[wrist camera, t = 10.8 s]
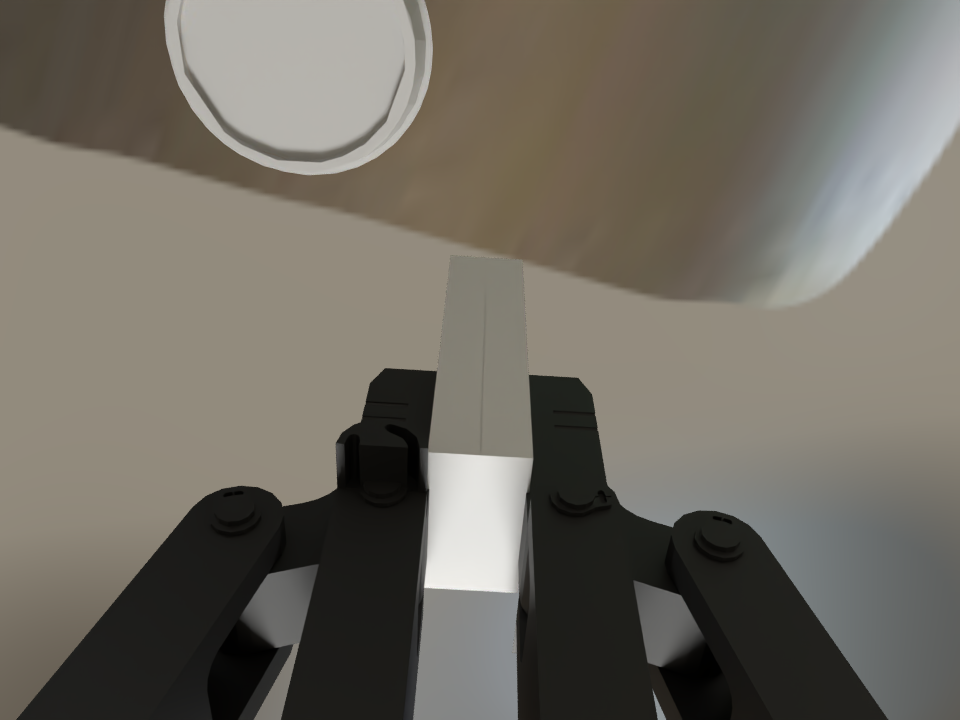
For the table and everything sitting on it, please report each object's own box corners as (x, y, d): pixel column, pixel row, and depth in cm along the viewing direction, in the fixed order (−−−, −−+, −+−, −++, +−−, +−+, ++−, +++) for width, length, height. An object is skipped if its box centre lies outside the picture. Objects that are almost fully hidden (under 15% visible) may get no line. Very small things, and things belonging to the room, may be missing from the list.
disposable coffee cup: (233, -122, 37) (128, -112, 26) (451, -112, 37) (431, -99, 26) (255, 99, 42) (174, 180, 31) (447, 108, 42) (429, 191, 31)
